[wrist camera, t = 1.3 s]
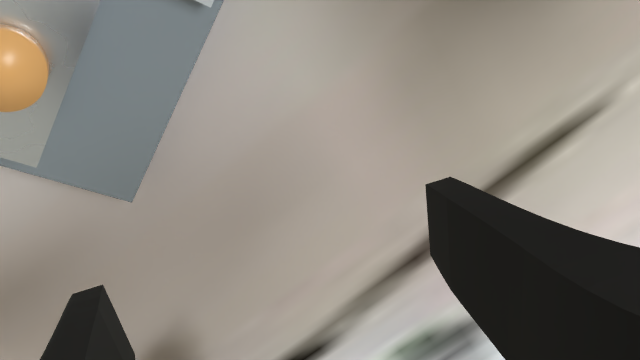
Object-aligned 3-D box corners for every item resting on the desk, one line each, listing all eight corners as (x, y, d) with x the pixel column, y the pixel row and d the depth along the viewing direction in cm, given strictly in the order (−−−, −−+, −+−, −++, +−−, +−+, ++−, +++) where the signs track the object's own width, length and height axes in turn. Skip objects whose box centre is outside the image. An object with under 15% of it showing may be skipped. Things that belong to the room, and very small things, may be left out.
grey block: (102, -28, 17) (102, 3, 14) (44, 124, 19) (34, 178, 16) (-14, -80, 16) (-40, -57, 13) (-65, 89, 18) (-98, 141, 15)
